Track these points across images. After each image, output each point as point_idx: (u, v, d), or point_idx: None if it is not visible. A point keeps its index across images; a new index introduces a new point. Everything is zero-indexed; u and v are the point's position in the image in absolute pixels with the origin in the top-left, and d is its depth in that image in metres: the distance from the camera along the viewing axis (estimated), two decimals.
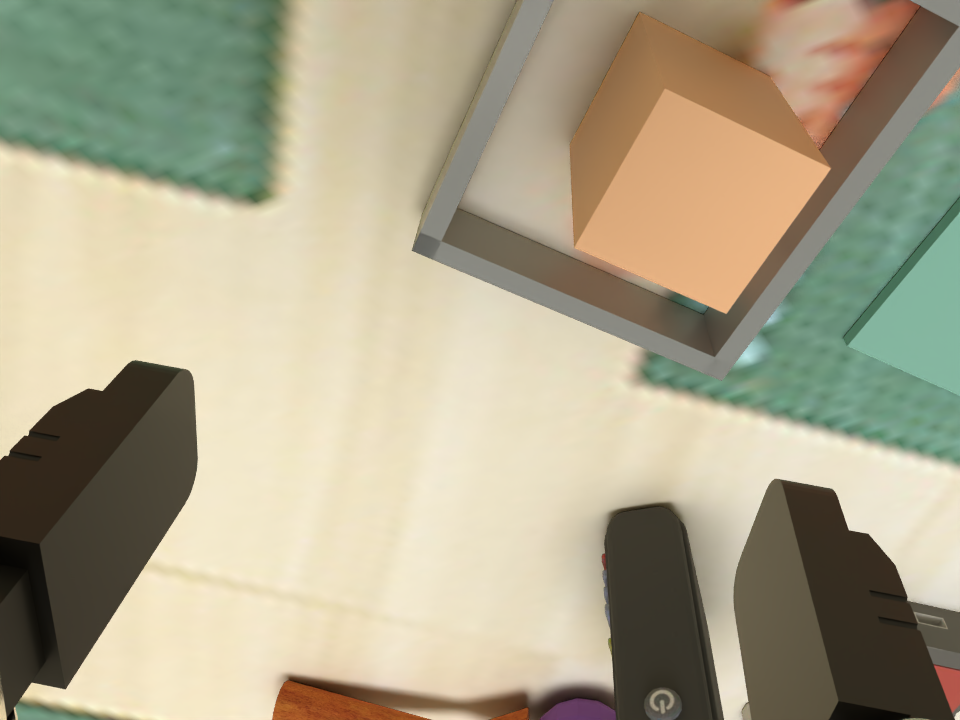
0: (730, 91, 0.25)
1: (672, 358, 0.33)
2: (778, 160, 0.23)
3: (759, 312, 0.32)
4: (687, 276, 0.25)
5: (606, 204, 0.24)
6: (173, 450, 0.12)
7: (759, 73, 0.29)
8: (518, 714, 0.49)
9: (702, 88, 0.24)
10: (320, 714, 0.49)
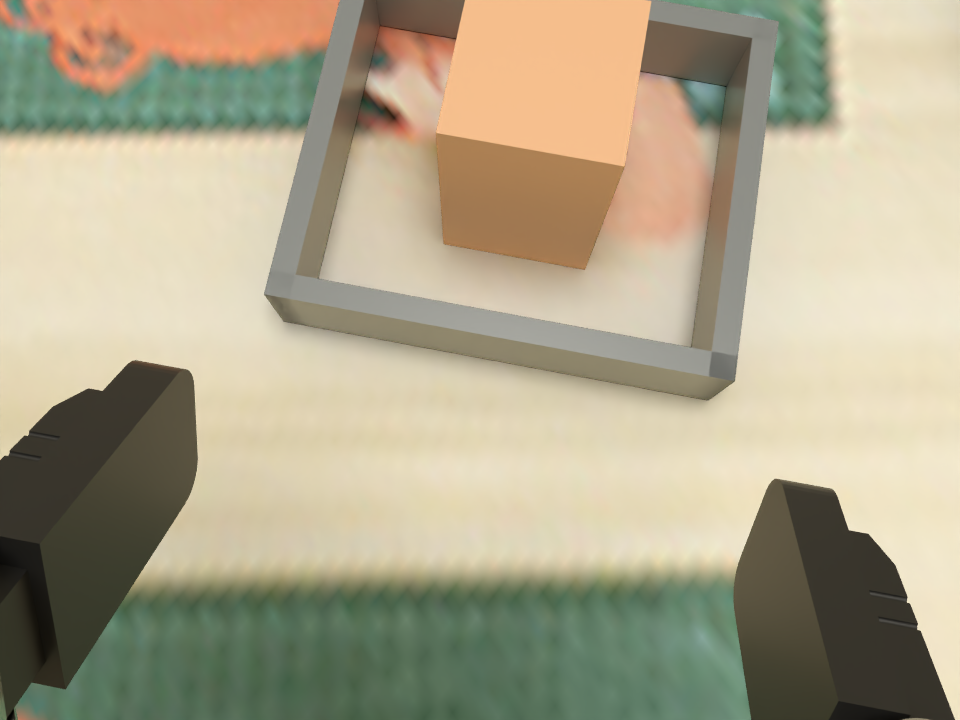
0: None
1: (769, 77, 0.29)
2: (476, 15, 0.24)
3: (684, 16, 0.30)
4: (621, 50, 0.24)
5: (566, 149, 0.23)
6: (172, 450, 0.12)
7: None
8: None
9: None
10: None
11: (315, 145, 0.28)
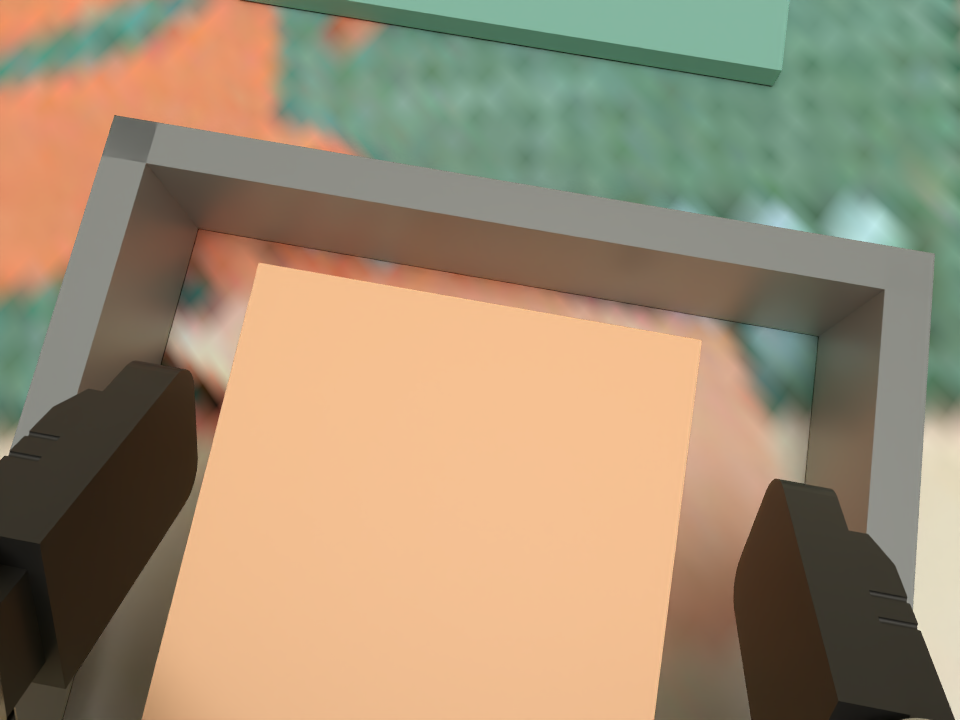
0: None
1: (923, 373, 0.15)
2: (264, 385, 0.10)
3: (750, 246, 0.15)
4: (627, 479, 0.09)
5: None
6: (172, 450, 0.12)
7: None
8: None
9: None
10: None
11: None
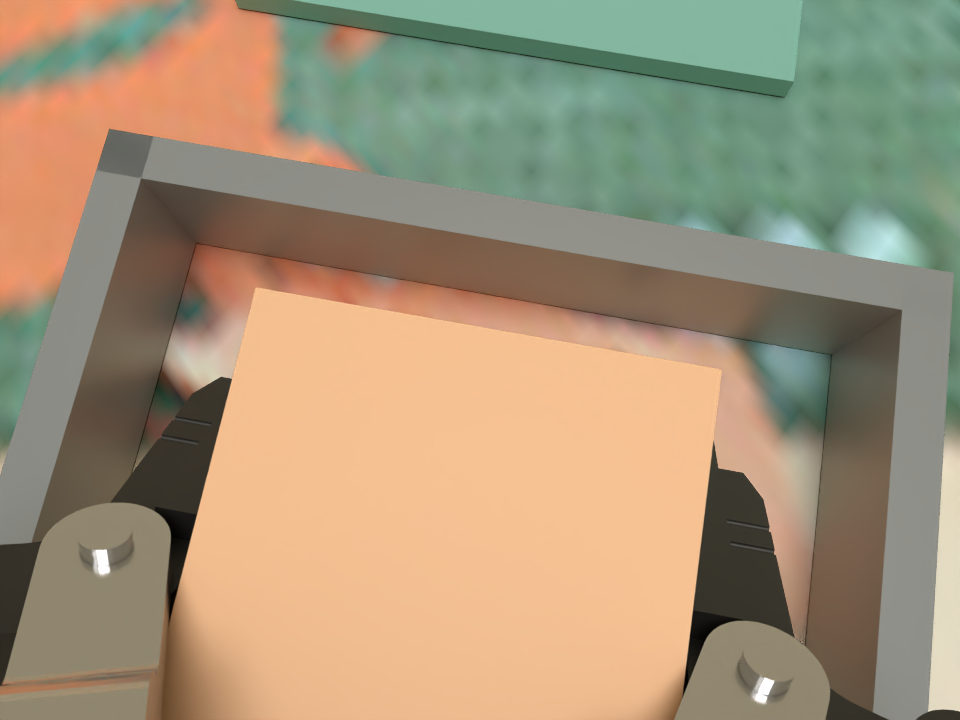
0: None
1: (942, 397, 0.14)
2: (261, 417, 0.09)
3: (763, 265, 0.15)
4: (644, 516, 0.09)
5: None
6: None
7: None
8: None
9: None
10: None
11: None
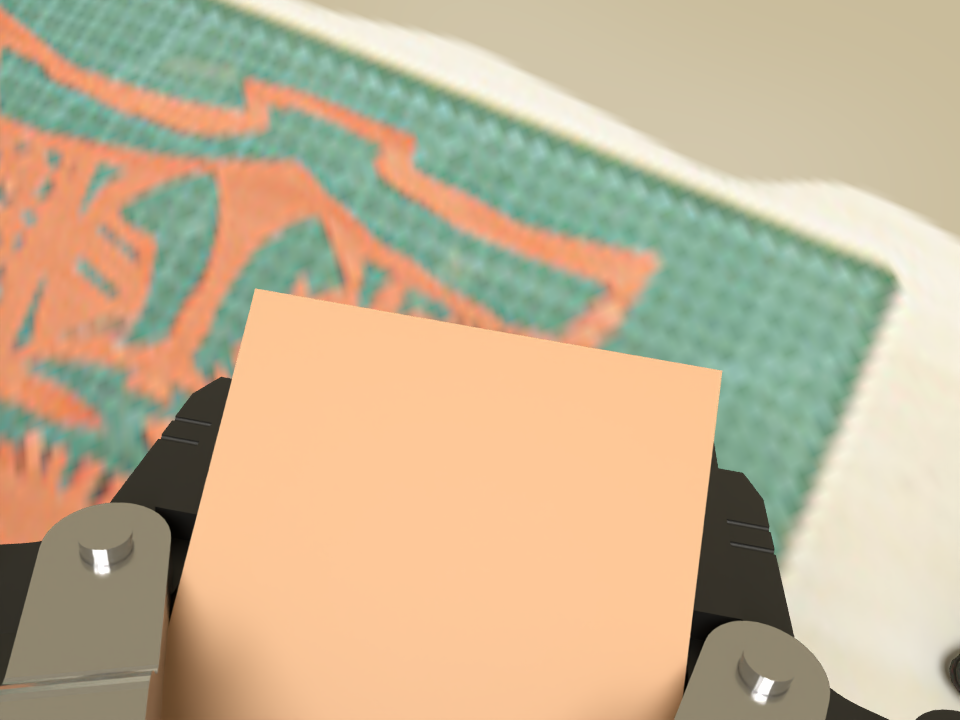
0: None
1: None
2: (262, 418, 0.09)
3: None
4: (645, 519, 0.09)
5: None
6: None
7: None
8: None
9: None
10: None
11: None
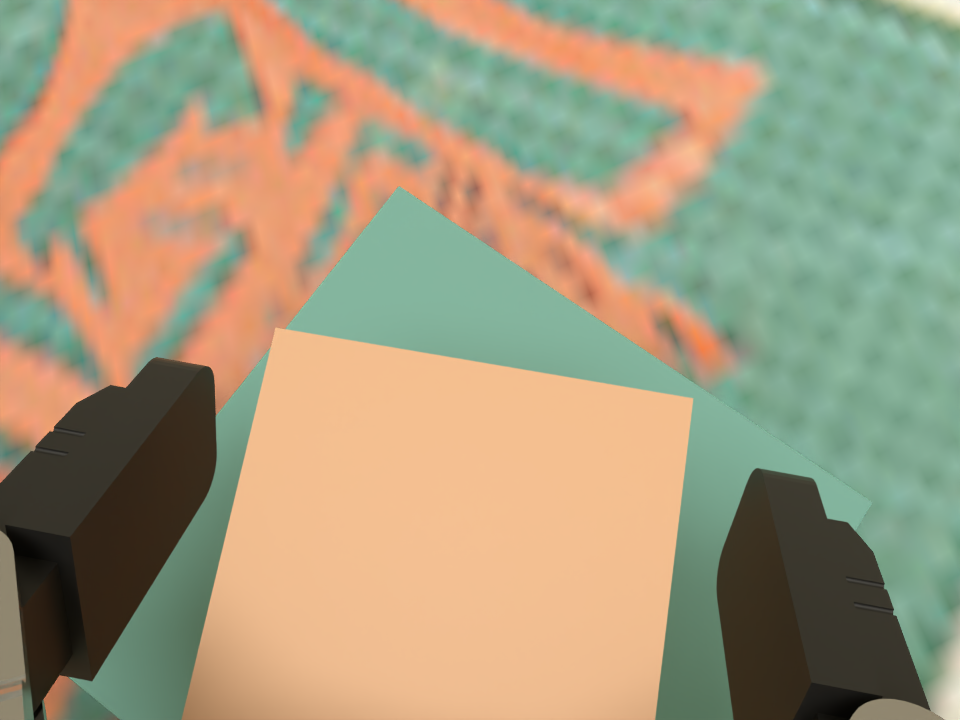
0: None
1: None
2: (283, 444, 0.10)
3: None
4: (624, 531, 0.10)
5: None
6: (193, 446, 0.12)
7: None
8: None
9: None
10: None
11: None
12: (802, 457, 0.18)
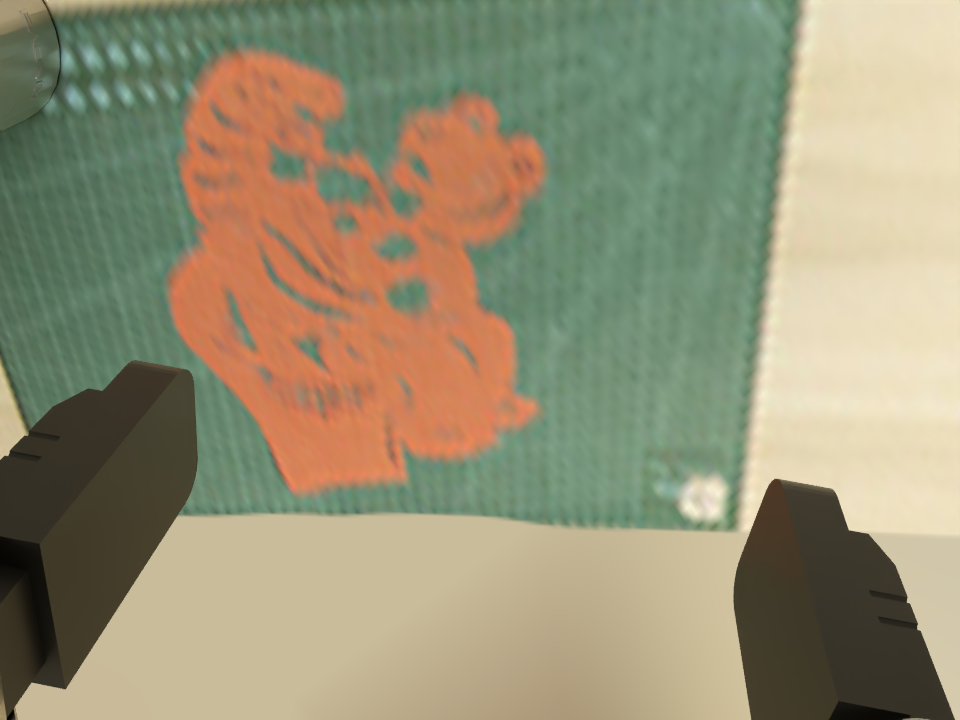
0: None
1: None
2: None
3: None
4: None
5: None
6: (172, 450, 0.12)
7: None
8: None
9: None
10: None
11: None
12: None
